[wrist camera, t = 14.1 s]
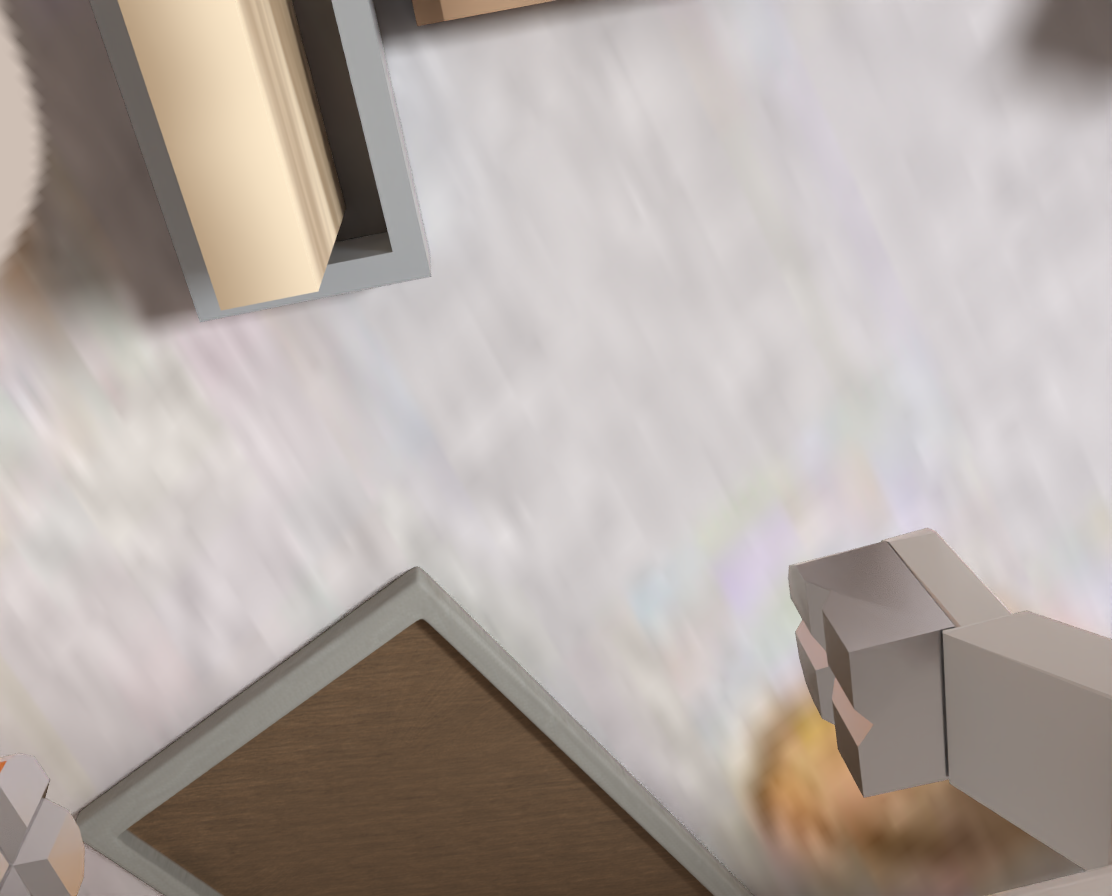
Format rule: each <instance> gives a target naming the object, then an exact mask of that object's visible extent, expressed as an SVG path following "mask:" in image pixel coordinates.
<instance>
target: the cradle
mask: <svg viewBox="0 0 1112 896" xmlns="http://www.w3.org/2000/svg"><path fill="white" fill-rule="evenodd" d="M89 1H90V4H91V7H92V10H93V13H94V16H95V19H96V22H97V25H98V28H99V30H100V33H101V36H102V39H103V42H104V45H105V48H106V51H107V54H108V57H109V59H110V62H111V65H112V68H113V71H114V74H115V77H116V80H117V83H118V86H119V88H120V91H121V94H122V97H123V100H124V103H125V106H126V109H127V112H128V115H129V117H130V120H131V123H132V126H133V129H134V132H135V135H136V138H137V141H138V144H139V146H140V149H141V152H142V155H143V158H144V161H145V164H146V167H147V170H148V173H149V175H150V178H151V181H152V184H153V187H154V190H155V193H156V196H157V199H158V202H159V205H160V207H161V210H162V213H163V216H164V219H165V222H166V225H167V228H168V231H169V234H170V236H171V239H172V242H173V245H174V248H175V251H176V254H177V257H178V260H179V263H180V265H181V268H182V271H183V274H184V277H185V280H186V283H187V286H188V289H189V292H190V294H191V297H192V300H193V303H194V306H195V309H196V312H197V315H198V318H199V321H200V322H204V321H209V320H214V319H219V318H224V317H229V316H234V315H239V314H244V313H249V312H254V311H259V310H264V309H269V308H275V307H280V306H285V305H290V304H295V303H300V302H305V301H310V300H315V299H320V298H325V297H330V296H335V295H340V294H345V293H350V292H355V291H360V290H366V289H371V288H376V287H381V286H386V285H391V284H396V283H401V282H406V281H411V280H416V279H421V278H426V277H431V261H430V251H429V246H428V242H427V237H426V233H425V228H424V224H423V220H422V215H421V211H420V206H419V202H418V198H417V193H416V189H415V184H414V180H413V176H412V171H411V167H410V162H409V158H408V153H407V149H406V145H405V140H404V136H403V131H402V127H401V123H400V118H399V114H398V109H397V105H396V101H395V96H394V92H393V87H392V83H391V78H390V74H389V70H388V65H387V61H386V56H385V52H384V48H383V43H382V39H381V34H380V30H379V25H378V21H377V17H376V12H375V8H374V3H373V0H331V1H332V5H333V9H334V13H335V17H336V21H337V25H338V29H339V33H340V38H341V42H342V46H343V50H344V54H345V58H346V62H347V66H348V70H349V74H350V79H351V83H352V87H353V91H354V95H355V99H356V103H357V107H358V111H359V115H360V120H361V124H362V128H363V132H364V136H365V140H366V144H367V148H368V152H369V157H370V161H371V165H372V169H373V173H374V177H375V181H376V185H377V189H378V193H379V198H380V202H381V206H382V210H383V214H384V218H385V222H386V226H387V230H388V232H385V233H380V234H375V235H370V236H364V237H359V238H354V239H349V240H344V241H339V242H335V243H334V246H333V249H332V252H331V255H330V258H329V261H328V264H327V267H326V270H325V273H324V276H323V279H322V282H321V285H320V288H319V291H318V292H313V293H308V294H303V295H298V296H293V297H288V298H282V299H277V300H272V301H267V302H262V303H257V304H252V305H247V306H242V307H237V308H232V309H227V310H222V311H221V309H220V306H219V303H218V300H217V297H216V294H215V291H214V288H213V285H212V282H211V279H210V276H209V273H208V270H207V267H206V264H205V261H204V258H203V255H202V252H201V249H200V246H199V243H198V240H197V237H196V234H195V231H194V228H193V225H192V222H191V219H190V216H189V213H188V210H187V207H186V204H185V201H184V198H183V195H182V192H181V189H180V186H179V183H178V180H177V177H176V174H175V171H174V168H173V165H172V162H171V159H170V156H169V153H168V150H167V147H166V144H165V141H164V138H163V135H162V132H161V129H160V126H159V123H158V120H157V117H156V114H155V111H154V108H153V105H152V102H151V99H150V96H149V93H148V90H147V87H146V84H145V81H144V78H143V75H142V72H141V69H140V66H139V63H138V60H137V57H136V54H135V51H134V48H133V45H132V42H131V39H130V36H129V33H128V30H127V27H126V24H125V21H124V18H123V15H122V12H121V9H120V6H119V3H118V0H89Z"/></svg>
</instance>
